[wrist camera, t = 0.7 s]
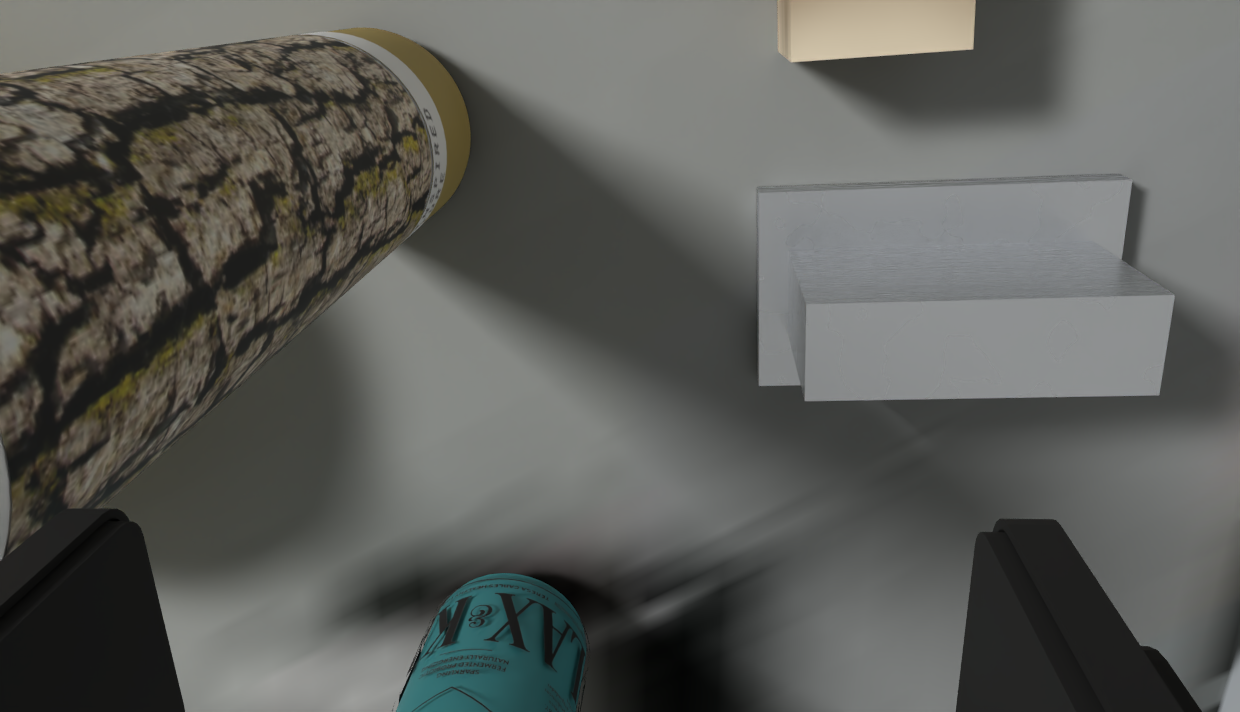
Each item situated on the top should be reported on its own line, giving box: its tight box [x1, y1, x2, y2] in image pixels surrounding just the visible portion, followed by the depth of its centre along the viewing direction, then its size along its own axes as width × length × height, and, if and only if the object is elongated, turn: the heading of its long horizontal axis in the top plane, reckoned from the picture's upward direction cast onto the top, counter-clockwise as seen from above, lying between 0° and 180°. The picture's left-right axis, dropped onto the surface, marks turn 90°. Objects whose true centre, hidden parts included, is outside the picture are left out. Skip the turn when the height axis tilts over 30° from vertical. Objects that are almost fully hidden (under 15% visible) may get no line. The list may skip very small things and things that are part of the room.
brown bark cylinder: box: [0, 28, 471, 561], centre depth 22 cm, size 7×7×25 cm
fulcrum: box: [757, 174, 1175, 401], centre depth 31 cm, size 7×12×7 cm, turn 93°
